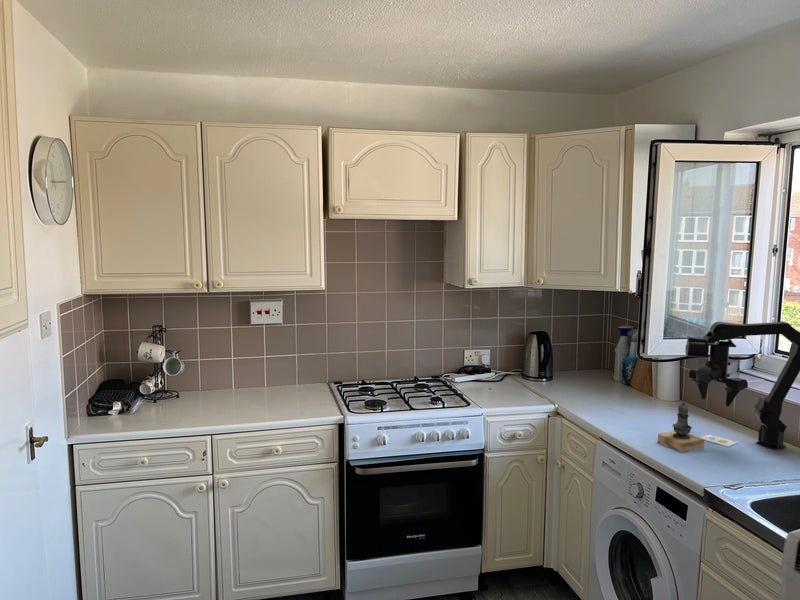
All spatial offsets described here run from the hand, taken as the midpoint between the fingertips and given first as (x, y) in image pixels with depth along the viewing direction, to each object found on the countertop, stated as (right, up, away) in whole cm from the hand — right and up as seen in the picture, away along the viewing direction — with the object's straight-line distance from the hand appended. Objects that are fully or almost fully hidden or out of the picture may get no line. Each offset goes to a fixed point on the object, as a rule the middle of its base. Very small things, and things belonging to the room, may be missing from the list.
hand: (715, 402), depth 201 cm
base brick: (-15, -13, -5) cm, 21 cm away
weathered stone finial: (-14, -11, -5) cm, 19 cm away
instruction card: (+1, -13, 0) cm, 13 cm away
